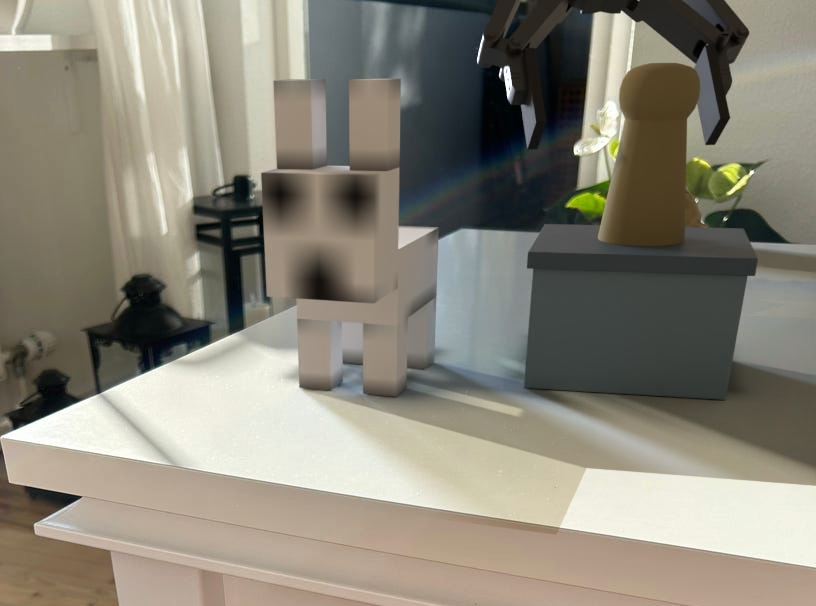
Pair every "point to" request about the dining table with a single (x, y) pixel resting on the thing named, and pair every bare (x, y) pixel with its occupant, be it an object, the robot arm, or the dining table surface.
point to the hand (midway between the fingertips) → (627, 134)
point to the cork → (651, 157)
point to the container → (636, 312)
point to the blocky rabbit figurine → (348, 241)
